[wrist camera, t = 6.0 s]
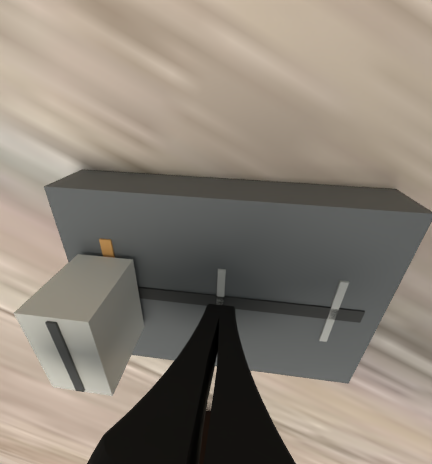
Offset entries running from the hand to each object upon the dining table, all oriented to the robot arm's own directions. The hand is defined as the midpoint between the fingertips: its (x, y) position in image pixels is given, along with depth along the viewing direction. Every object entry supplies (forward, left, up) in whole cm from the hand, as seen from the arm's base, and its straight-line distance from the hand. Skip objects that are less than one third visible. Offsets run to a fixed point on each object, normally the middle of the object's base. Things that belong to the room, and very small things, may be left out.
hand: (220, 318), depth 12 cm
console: (0, 0, -4) cm, 4 cm away
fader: (+5, -3, -1) cm, 6 cm away
